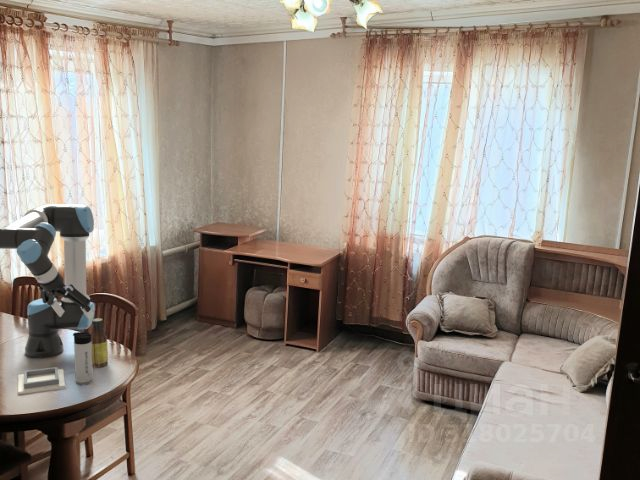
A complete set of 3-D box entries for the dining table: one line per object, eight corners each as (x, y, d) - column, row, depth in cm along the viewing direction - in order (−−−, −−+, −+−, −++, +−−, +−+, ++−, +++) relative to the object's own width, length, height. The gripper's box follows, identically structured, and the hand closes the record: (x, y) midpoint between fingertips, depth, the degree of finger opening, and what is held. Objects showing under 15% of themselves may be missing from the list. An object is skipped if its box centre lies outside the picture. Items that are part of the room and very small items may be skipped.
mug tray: (18, 376, 235) (18, 369, 234) (62, 371, 242) (62, 364, 241) (18, 394, 221) (17, 387, 220) (65, 387, 228) (64, 380, 227)
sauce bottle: (111, 363, 251) (110, 318, 247) (101, 369, 246) (99, 323, 241) (98, 360, 253) (97, 316, 249) (88, 366, 248) (86, 320, 244)
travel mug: (77, 378, 236) (75, 330, 232) (94, 378, 237) (93, 330, 233) (72, 385, 230) (70, 336, 226) (90, 385, 231) (88, 336, 227)
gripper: (14, 282, 215) (44, 320, 229) (70, 286, 207) (98, 325, 221) (27, 268, 220) (55, 305, 234) (82, 270, 212) (108, 309, 226)
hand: (76, 315), depth 228 cm, fingers open, 13 cm apart
